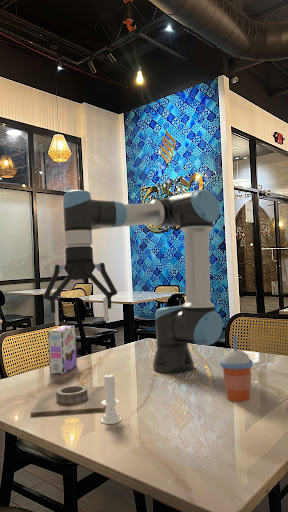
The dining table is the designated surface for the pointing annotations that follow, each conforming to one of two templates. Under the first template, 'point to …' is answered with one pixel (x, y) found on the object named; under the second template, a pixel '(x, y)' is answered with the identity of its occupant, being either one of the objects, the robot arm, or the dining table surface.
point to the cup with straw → (237, 374)
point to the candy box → (62, 349)
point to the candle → (110, 401)
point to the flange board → (70, 400)
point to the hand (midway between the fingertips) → (82, 322)
